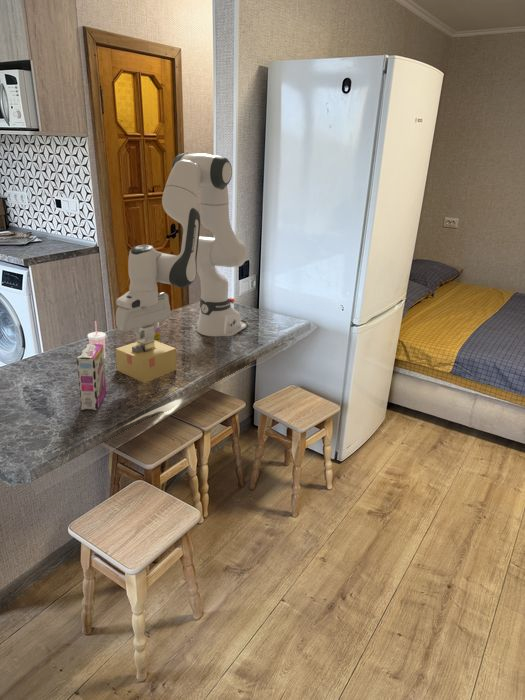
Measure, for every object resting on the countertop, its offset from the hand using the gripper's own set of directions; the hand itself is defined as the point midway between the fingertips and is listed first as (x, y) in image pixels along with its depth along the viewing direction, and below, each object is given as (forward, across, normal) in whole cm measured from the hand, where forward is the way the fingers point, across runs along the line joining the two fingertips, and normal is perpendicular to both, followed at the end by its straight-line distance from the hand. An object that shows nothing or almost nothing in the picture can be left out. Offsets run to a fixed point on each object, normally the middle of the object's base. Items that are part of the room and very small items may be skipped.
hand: (145, 337), depth 161 cm
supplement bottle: (+12, -14, -14) cm, 23 cm away
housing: (+12, 0, 0) cm, 12 cm away
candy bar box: (+12, +25, +6) cm, 29 cm away
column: (+12, 0, 0) cm, 12 cm away
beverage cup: (+12, +5, -20) cm, 24 cm away
